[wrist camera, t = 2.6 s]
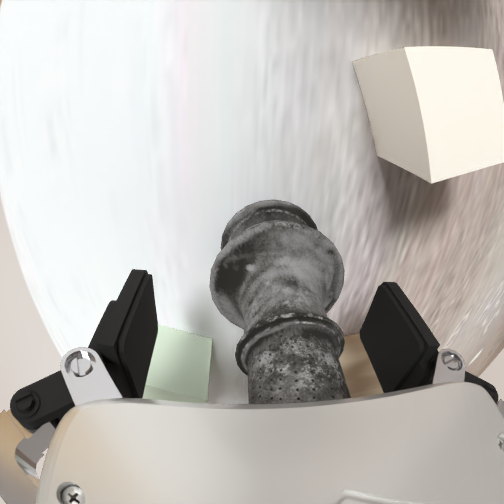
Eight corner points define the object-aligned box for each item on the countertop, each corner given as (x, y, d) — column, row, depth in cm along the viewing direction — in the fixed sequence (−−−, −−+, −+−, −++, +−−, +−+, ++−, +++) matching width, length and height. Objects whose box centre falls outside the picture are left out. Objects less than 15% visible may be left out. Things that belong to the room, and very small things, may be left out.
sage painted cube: (212, 338, 19) (207, 400, 14) (195, 377, 21) (189, 432, 17) (140, 317, 18) (119, 376, 13) (134, 360, 20) (119, 413, 16)
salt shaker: (329, 278, 17) (404, 477, 6) (232, 300, 17) (230, 510, 7) (316, 182, 14) (467, 397, 3) (201, 210, 14) (134, 461, 4)
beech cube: (379, 329, 19) (404, 381, 15) (366, 370, 22) (384, 417, 17) (315, 339, 19) (330, 397, 15) (310, 379, 22) (320, 431, 17)
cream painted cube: (429, 53, 10) (492, 49, 6) (447, 138, 13) (508, 160, 8) (351, 61, 11) (403, 47, 6) (376, 155, 13) (431, 183, 9)
